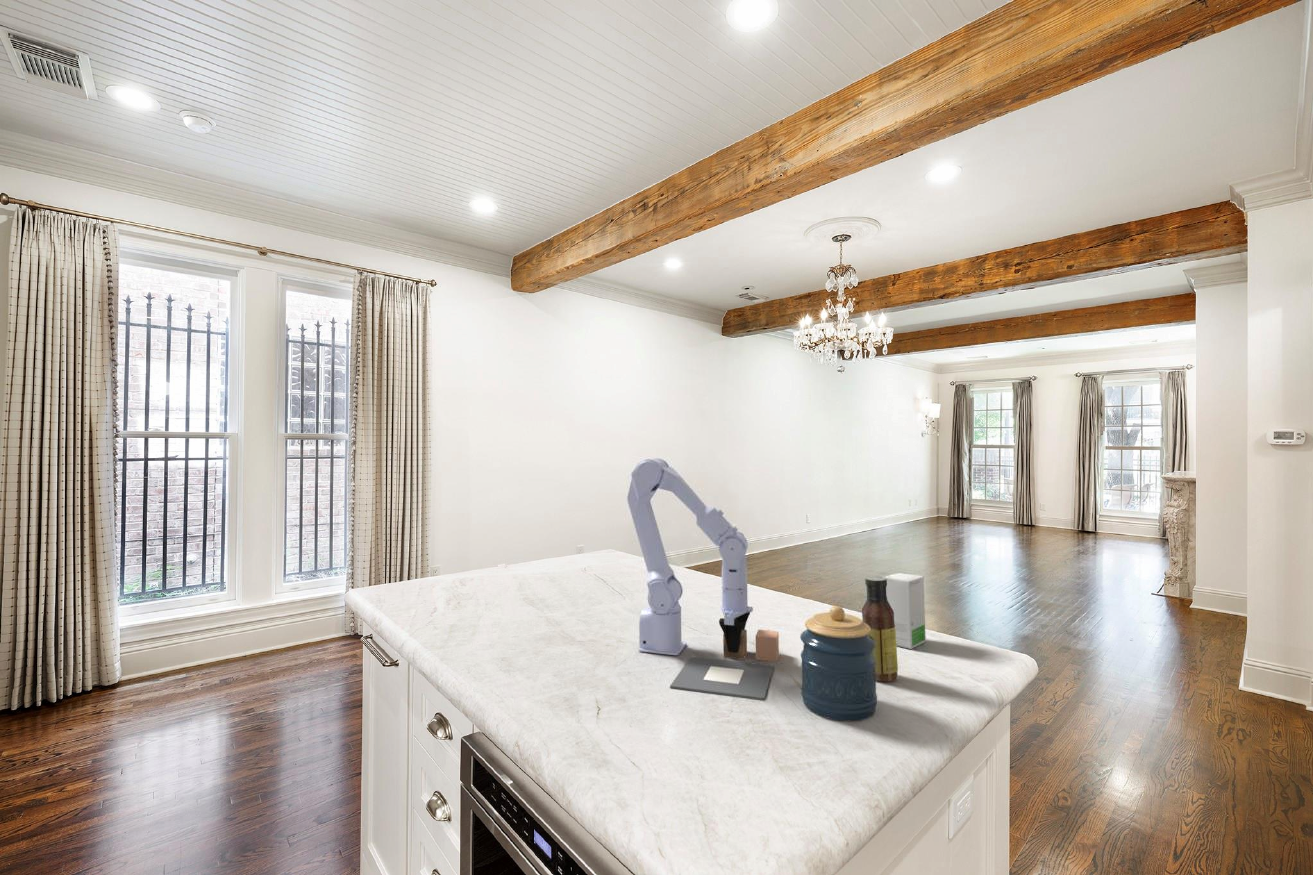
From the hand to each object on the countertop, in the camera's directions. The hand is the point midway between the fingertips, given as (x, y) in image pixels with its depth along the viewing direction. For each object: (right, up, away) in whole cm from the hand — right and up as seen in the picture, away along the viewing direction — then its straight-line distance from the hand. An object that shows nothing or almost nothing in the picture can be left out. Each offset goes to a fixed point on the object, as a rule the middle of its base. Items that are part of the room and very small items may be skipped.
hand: (735, 647), depth 124 cm
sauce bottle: (+27, -1, -13) cm, 30 cm away
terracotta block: (+7, -1, -1) cm, 7 cm away
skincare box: (+41, -1, +7) cm, 42 cm away
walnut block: (0, -1, 0) cm, 1 cm away
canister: (+15, -1, -25) cm, 29 cm away
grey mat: (-4, -1, -12) cm, 13 cm away
